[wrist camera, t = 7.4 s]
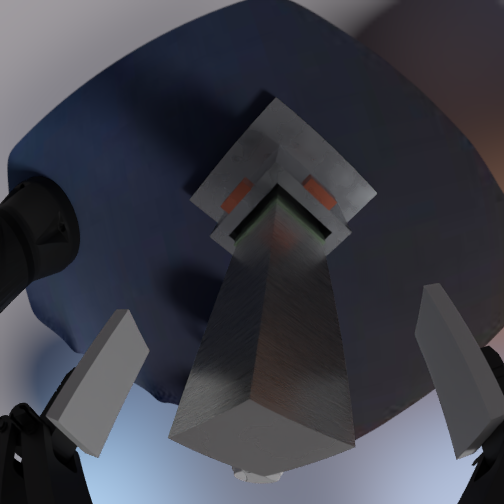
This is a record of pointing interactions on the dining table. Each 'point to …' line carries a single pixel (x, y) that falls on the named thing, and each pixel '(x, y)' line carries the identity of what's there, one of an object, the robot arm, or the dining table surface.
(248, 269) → the column
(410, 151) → the dining table surface
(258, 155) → the stand base
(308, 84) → the dining table surface
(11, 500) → the robot arm
